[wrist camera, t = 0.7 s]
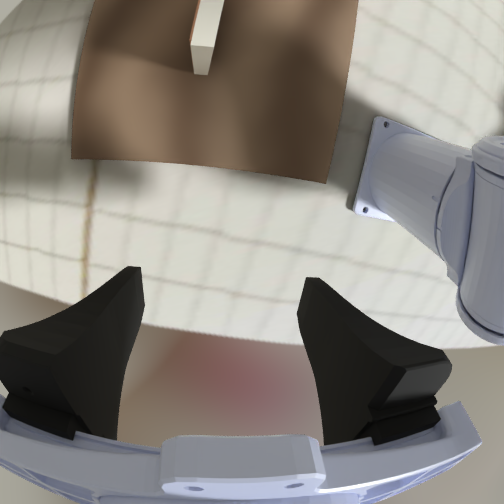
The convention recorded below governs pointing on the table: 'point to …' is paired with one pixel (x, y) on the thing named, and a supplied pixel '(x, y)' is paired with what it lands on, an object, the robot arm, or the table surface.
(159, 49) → the board
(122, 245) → the table surface
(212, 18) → the tile
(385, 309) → the table surface
